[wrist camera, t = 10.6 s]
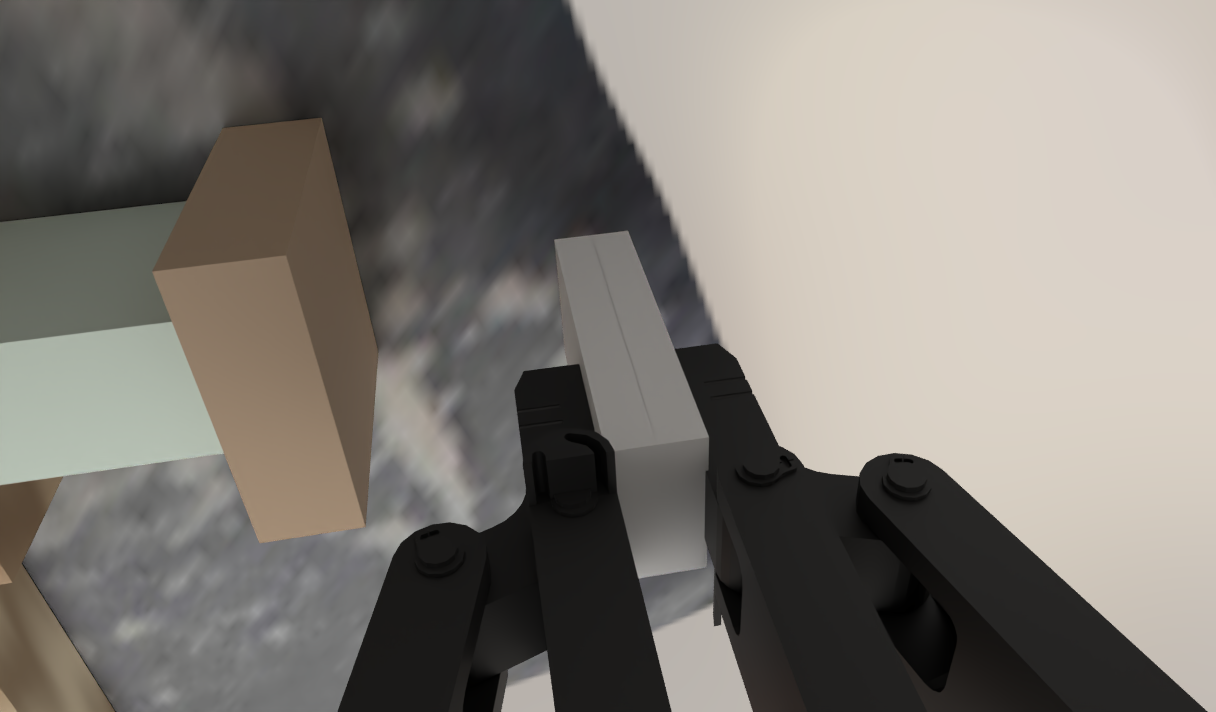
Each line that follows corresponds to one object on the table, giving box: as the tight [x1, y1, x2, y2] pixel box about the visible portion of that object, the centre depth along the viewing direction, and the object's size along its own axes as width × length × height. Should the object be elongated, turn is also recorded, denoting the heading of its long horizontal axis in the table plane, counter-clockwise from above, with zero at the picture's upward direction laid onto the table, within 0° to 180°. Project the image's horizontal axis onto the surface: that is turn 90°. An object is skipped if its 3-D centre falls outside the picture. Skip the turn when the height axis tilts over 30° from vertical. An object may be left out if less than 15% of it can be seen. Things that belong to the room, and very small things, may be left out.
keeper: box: [0, 118, 378, 543], centre depth 18 cm, size 6×12×6 cm, turn 93°
